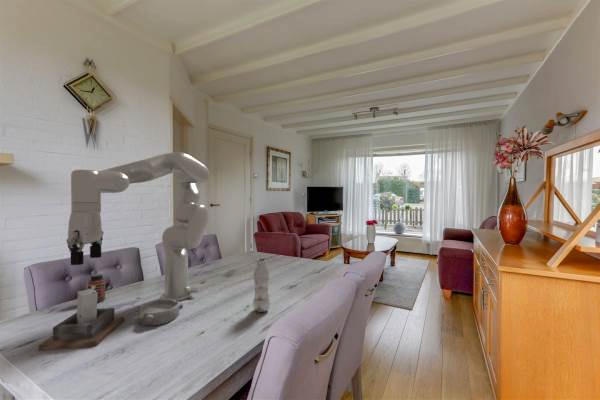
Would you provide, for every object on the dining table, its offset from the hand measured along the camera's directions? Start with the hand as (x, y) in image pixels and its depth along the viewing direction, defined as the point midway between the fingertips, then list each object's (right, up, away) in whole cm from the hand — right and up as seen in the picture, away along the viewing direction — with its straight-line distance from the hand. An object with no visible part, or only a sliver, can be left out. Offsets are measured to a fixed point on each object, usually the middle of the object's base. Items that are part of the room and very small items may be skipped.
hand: (86, 260), depth 87 cm
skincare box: (0, -22, 0) cm, 22 cm away
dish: (+18, -24, +12) cm, 32 cm away
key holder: (0, -24, 0) cm, 24 cm away
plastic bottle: (+54, -24, +18) cm, 62 cm away
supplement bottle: (-18, -24, +27) cm, 40 cm away
